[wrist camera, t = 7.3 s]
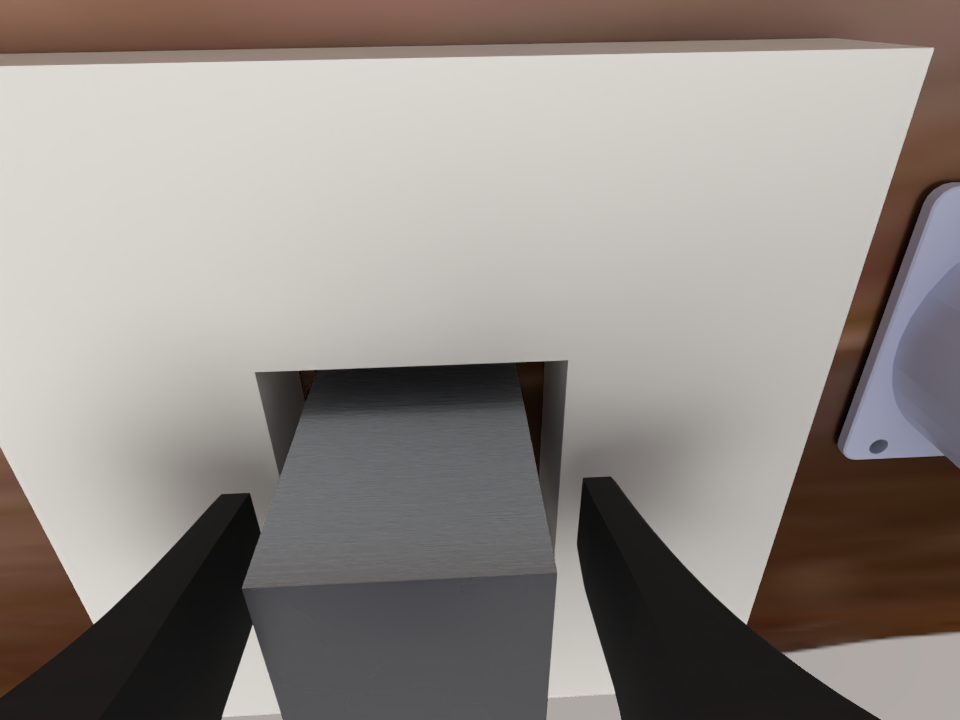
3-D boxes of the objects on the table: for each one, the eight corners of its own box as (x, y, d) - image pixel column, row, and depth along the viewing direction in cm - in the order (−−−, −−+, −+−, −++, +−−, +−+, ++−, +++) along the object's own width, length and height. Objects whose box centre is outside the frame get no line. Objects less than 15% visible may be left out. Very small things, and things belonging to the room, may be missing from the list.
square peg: (507, 321, 16) (556, 572, 9) (506, 457, 18) (544, 741, 11) (331, 327, 16) (241, 588, 9) (352, 464, 18) (294, 756, 11)
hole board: (834, 37, 13) (934, 47, 10) (692, 606, 22) (725, 687, 19) (-60, 55, 12) (-198, 69, 9) (181, 633, 21) (144, 721, 19)
